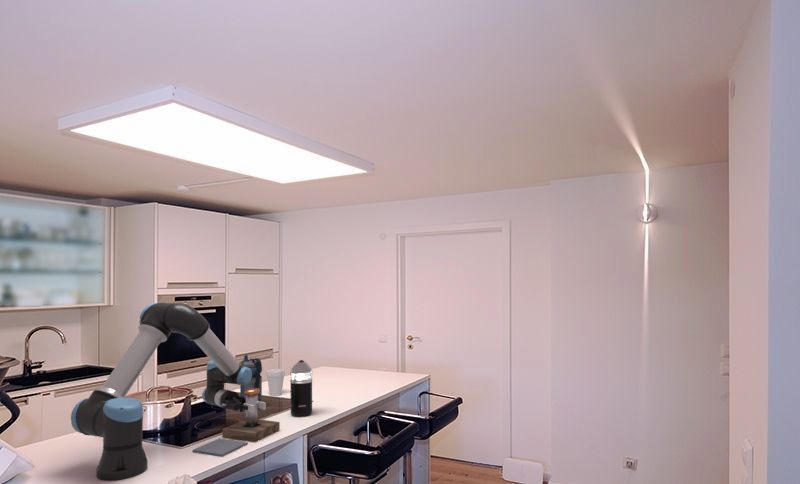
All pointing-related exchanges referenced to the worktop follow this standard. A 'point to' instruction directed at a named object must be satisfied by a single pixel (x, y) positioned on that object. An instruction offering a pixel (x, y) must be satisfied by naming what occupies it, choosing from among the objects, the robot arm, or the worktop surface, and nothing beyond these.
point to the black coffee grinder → (301, 389)
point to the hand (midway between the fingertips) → (259, 407)
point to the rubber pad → (220, 447)
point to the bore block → (251, 430)
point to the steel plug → (253, 400)
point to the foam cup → (275, 381)
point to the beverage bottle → (256, 377)
